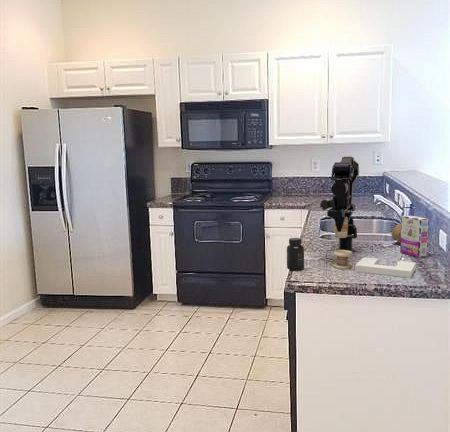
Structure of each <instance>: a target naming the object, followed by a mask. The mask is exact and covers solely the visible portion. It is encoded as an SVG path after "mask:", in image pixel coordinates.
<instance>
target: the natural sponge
mask: <svg viewBox="0 0 450 432" xmlns="http://www.w3.org/2000/svg"><path fill="white" fill-rule="evenodd" d="M391 237H392V238H393V239H394V240H396V242H397V243H398V244H399V245H401V223H399V224H397V225H396V226H395V227H394V228H393V230H392V231H391Z"/></svg>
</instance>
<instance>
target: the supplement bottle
mask: <svg viewBox="0 0 450 432" xmlns="http://www.w3.org/2000/svg"><path fill="white" fill-rule="evenodd" d="M286 268H287V269H288V270H289V271H296V272H297V271H302V270H304V269H305V247H304V246H303V245H302V238H301V237H290V238H289V239H288V245H287V247H286Z"/></svg>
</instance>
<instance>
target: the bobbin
mask: <svg viewBox="0 0 450 432" xmlns="http://www.w3.org/2000/svg"><path fill="white" fill-rule="evenodd" d="M333 255H334V256H335V257H337V261H335V262H334V263H333V268H335V269H337V270H349V269H352V267H353V264H352V263H351V262H349V257H352V256H353V251H352V252H351V251H348V250H337V249H336V250H334V251H333Z"/></svg>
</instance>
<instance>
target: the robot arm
mask: <svg viewBox="0 0 450 432" xmlns="http://www.w3.org/2000/svg"><path fill="white" fill-rule="evenodd" d="M359 165H360V163H358V162H357V161H356V160H355V157H353V156H342V157H341V159H340V162H338V161H337V162H334V163H333V165H332V169H331V176H330V180H331V181H334V183H332V186H331V188H330V189H331V194H333V196H332V199H328V200H327V199H322V200H321V201H320V206H319V207H320V208H322V211H326V210H327V212H326V217H329V218H331V219H333V220H334V225H335V224H336V227H337V231H338V232H341V230H342V227H343V224H344V221H345V218H346V217H347V218H348V231H347V237H346V238H338V249H336V250H348V251H351V252H352V253H353V251H355V248H353V239H357V238H358V228H357V227H356V224H355V221H354V219H353V217H352V215H353V213H354V212H355V211H356V205H355V204H354V203H353V197H354V195H353V194H354V193H353V192H354V185H355V184H356V183H357V181H358V177H359V176H360V166H359ZM335 238H336V239H337V237H335Z"/></svg>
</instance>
